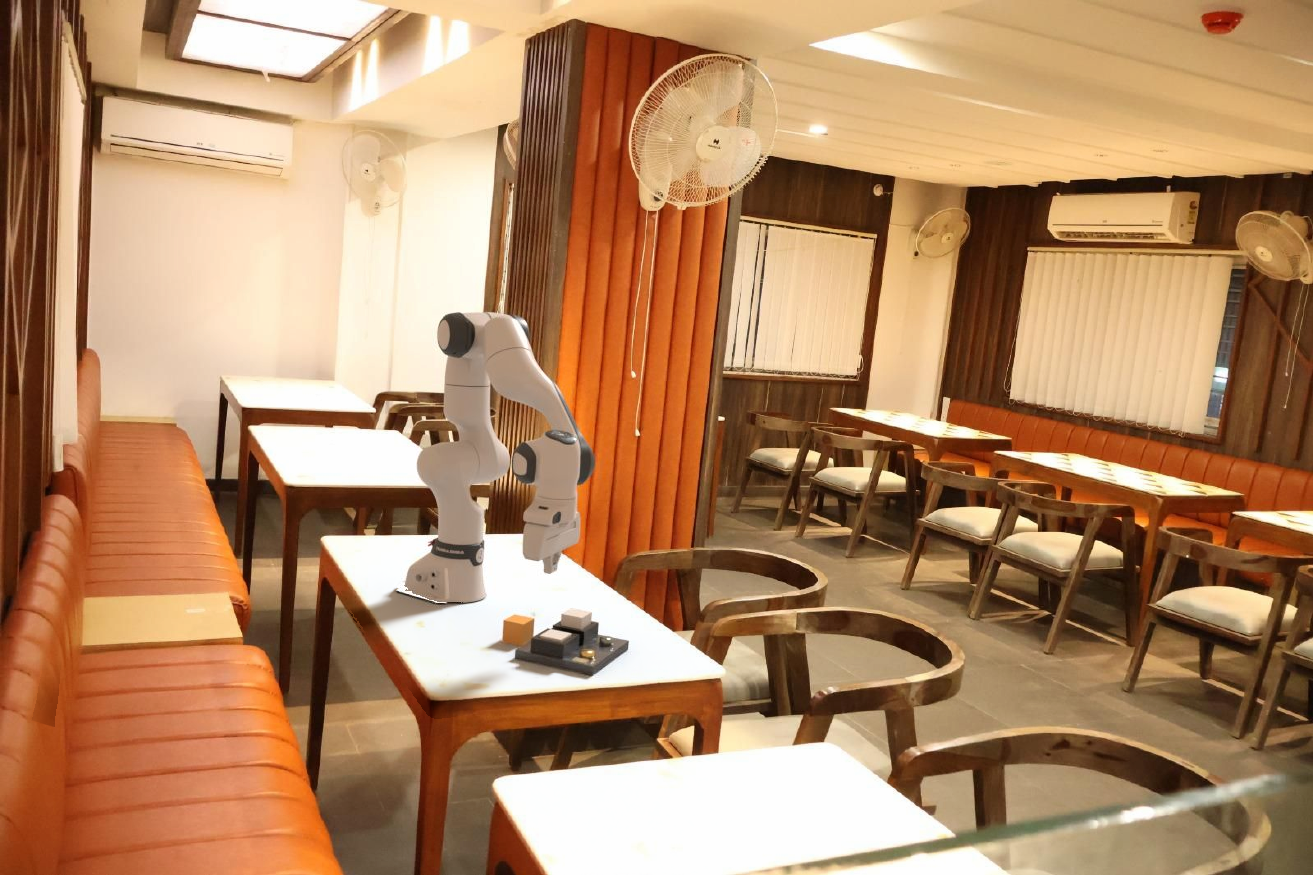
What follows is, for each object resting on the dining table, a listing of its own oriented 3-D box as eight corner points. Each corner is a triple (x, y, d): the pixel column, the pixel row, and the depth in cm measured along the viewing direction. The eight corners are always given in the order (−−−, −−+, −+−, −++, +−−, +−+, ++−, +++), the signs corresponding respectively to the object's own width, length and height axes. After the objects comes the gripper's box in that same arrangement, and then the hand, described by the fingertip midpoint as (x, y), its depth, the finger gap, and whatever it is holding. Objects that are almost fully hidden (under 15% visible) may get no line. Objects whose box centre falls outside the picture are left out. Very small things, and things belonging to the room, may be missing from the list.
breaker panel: (514, 658, 224) (516, 636, 223) (555, 634, 242) (556, 613, 241) (592, 675, 218) (594, 652, 217) (628, 649, 235) (629, 627, 235)
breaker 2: (560, 627, 233) (561, 613, 232) (570, 621, 237) (571, 608, 237) (581, 631, 231) (582, 617, 231) (590, 625, 236) (591, 612, 235)
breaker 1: (538, 649, 224) (539, 635, 223) (549, 642, 228) (550, 629, 228) (560, 653, 222) (561, 639, 222) (570, 647, 227) (571, 633, 226)
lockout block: (502, 642, 234) (503, 620, 233) (513, 635, 239) (514, 614, 238) (522, 646, 232) (523, 624, 232) (532, 640, 237) (534, 618, 236)
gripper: (563, 498, 234) (558, 558, 236) (519, 514, 215) (514, 580, 217) (589, 502, 232) (584, 564, 234) (547, 519, 213) (541, 586, 215)
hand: (550, 572), depth 226 cm, fingers closed
